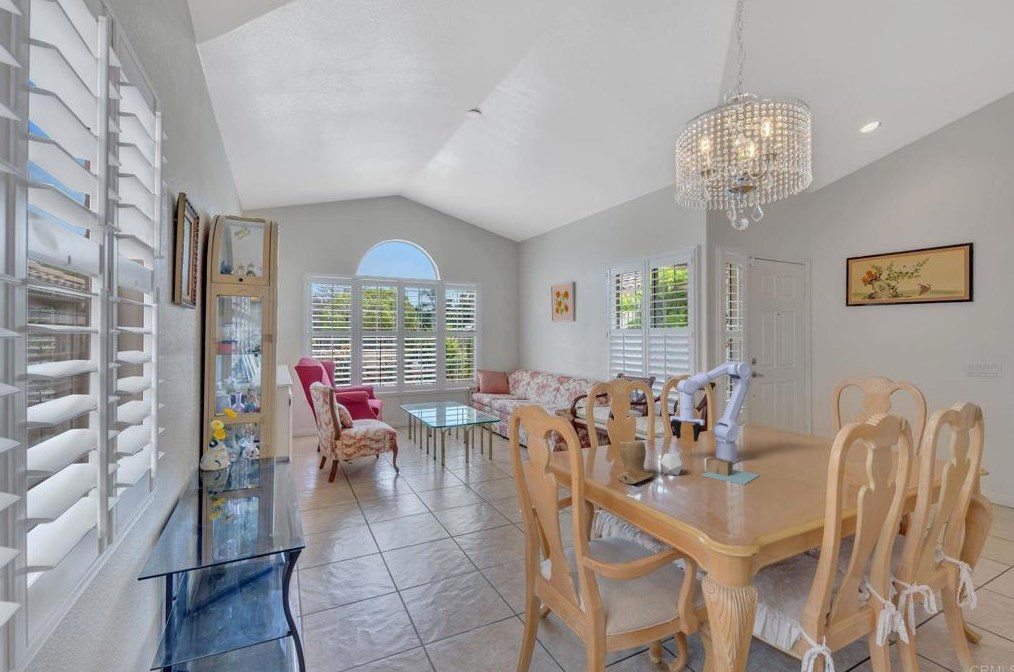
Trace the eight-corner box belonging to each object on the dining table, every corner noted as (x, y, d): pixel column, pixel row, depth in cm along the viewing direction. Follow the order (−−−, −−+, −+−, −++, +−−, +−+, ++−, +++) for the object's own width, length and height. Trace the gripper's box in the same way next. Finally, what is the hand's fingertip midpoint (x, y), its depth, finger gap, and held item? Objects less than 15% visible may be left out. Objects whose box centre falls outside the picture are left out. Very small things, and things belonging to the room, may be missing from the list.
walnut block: (709, 456, 192) (732, 460, 186) (710, 468, 192) (732, 473, 186) (704, 459, 189) (727, 463, 182) (704, 471, 189) (727, 476, 182)
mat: (718, 467, 195) (718, 466, 195) (759, 475, 184) (759, 474, 184) (701, 475, 184) (701, 474, 184) (744, 484, 172) (744, 484, 172)
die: (684, 474, 189) (671, 452, 193) (689, 468, 181) (676, 446, 186) (666, 482, 188) (653, 460, 192) (671, 477, 180) (657, 454, 185)
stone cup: (630, 472, 190) (630, 435, 190) (657, 478, 181) (657, 440, 181) (608, 480, 179) (608, 441, 179) (635, 487, 171) (635, 446, 171)
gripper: (666, 407, 203) (666, 438, 203) (699, 411, 192) (699, 444, 193) (674, 405, 208) (674, 435, 208) (706, 409, 197) (706, 441, 197)
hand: (687, 439), depth 201 cm, fingers open, 7 cm apart
